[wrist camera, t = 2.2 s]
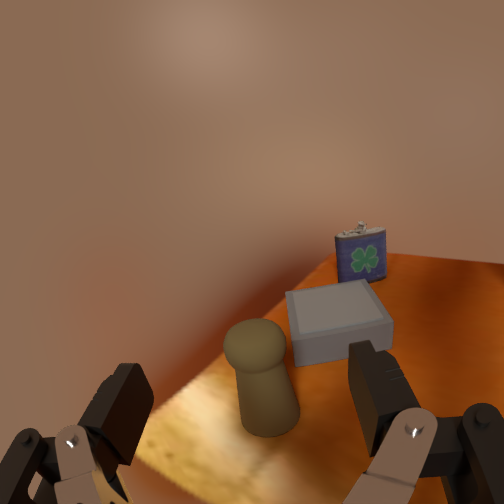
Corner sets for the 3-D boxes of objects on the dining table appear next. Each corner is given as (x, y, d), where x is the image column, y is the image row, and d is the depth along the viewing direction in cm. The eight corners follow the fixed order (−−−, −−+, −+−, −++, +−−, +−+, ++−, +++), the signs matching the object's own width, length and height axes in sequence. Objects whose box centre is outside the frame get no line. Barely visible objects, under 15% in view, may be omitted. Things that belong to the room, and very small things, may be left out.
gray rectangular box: (365, 301, 44) (364, 277, 42) (391, 348, 33) (394, 319, 31) (288, 315, 45) (284, 290, 44) (295, 367, 34) (291, 339, 32)
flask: (383, 272, 52) (381, 215, 48) (390, 279, 49) (389, 219, 45) (336, 283, 52) (331, 224, 48) (341, 290, 49) (336, 228, 46)
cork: (254, 446, 24) (226, 362, 20) (233, 406, 29) (206, 323, 26) (311, 420, 26) (303, 332, 22) (284, 386, 31) (269, 301, 27)
